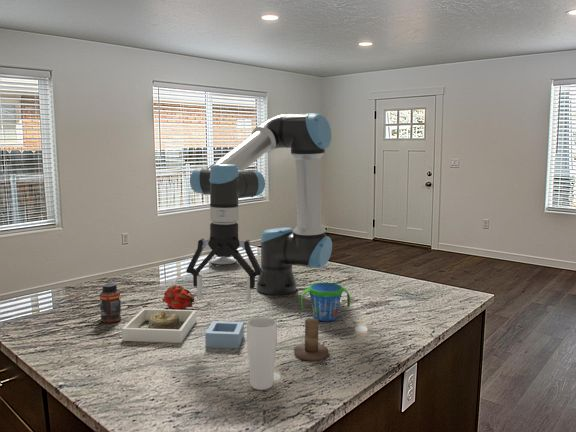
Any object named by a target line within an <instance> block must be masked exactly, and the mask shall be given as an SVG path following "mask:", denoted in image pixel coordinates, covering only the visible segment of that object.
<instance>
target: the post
mask: <svg viewBox="0 0 576 432" xmlns="http://www.w3.org/2000/svg"><path fill="white" fill-rule="evenodd" d="M304 321H305V322H304V343H300V344H298V345H296V346H295V347H294V351H293V354H294V356H295V357H296V358H297V359H300V360H302V361H307V362H319V361H322V360H325V359H327V358H328V357H329V348H328V347H327V346H326V345H323V344H320V343H319V327H320V326H319V325H320V323H319V322H320V320H317V319H316V318H311V317H310V318H307V319H305V320H304Z"/></svg>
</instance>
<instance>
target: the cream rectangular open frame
mask: <svg viewBox="0 0 576 432" xmlns="http://www.w3.org/2000/svg"><path fill="white" fill-rule="evenodd" d="M162 311H164V312H165V314H166V315H168V316H171V315H172V314H177V315H178V316H179V320H180V323H183V324H181V327H180V328H179V329H178V330H176V329H148V327H147V328H145V327H143V328H142V327H140V326H141V325H142V324H144V323H145V322H146V321H148V320H149V318H150V316H151V315H153V314H157V313H160V314H162V313H163V312H162ZM161 312H162V313H161ZM148 322H149V321H148ZM196 323H197V309H195V310H194V309H193V310H192V309H183V310H176V309H171V310H170V309H169V308H168V309H164V308H161V309H160V308H142V309H141V310H140V311H139V312H138V313H137V314H136V315H134V316H133V318H131V319H130V321H129V322H127V323H126V324H125V325H124V326H123V327H122V328H121V335H122V337H121V341H123V342H141V343H142V342H144V343H145V342H147V343H174V344H175V343H176V344H182V343H183V342H184V340H185V338H186V337H187V336H188V335H189V333H190V331H191V330H192V328H193V327H194V326H195V324H196Z"/></svg>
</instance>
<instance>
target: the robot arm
mask: <svg viewBox="0 0 576 432" xmlns="http://www.w3.org/2000/svg"><path fill="white" fill-rule="evenodd" d="M330 125H331V124H330V123H329V120H328V119H327V117H326V116H324V115H323V114H321V113H314V112H313V113H312V112H308V113H307V112H305V113H282V114H279V115H278V114H277V115H276V116H273V117H271V118H269V119H267V120H265V121H263V122H262V123H260V124H259V125H257V126H255V128H254V129H253V130H252V132H251V135H248V137H247V138H245V139H244V140H243V141H241V142H240V143H239V144H237V145H236V146H234V147H233V148H232V149H230V150H229V151H228V152H227V153H226V154H225V155H223V156H222V157H220V158H219V159H218V160H216V161H215V162H214V163H212V164H211V165H210V166H209V167H207V168H204V167H203V168H197V169H194V170H193V171H192V172H191V174H190V176H189V177H190V178H189V185H190V187H191V190H192V191H193V192H194V193H196V194H202V195H205V196H207V195H209V196H210V197H209V199H210V201H209V202H210V203H209V221H210V222H211V223H210V224H209V232H210V240H208V239H204V238H200V239H199V240H197V249H196V251H195V252H194V254H193V256H192V258H191V260H190V262H189V264H188V267H187V268H186V270H185V271H186V273H187V274H191V275H192V278H193V279H192V280H193V283H192V285H193V287H194V288H195V287H196V300H201V299H202V297H203V273H201V271H202V270H203V269H204V267H206V265H207V264H208V263H209V262H210V261H211V260H212V259H213V257H214V256H216V257H217V258H220V257H222V256H224V257H227V258H231V257H232V258H233V259H235V260H237V261H236V263H238V264H239V265H240V266H241V268H242V269H243V270H244V271H245V272H246V273H247V275H248V276H247V278H246V301H247V302H251V299H252V289H253V290H254V289H255V288H256V289H255V290H256V291H257V292H258V293H262V294H265V295H271V296H278V295H280V296H281V295H289V294H292V293H294V292H296V291H297V286H298V285H297V280H296V278H295V274H294V272H293V266H299V267H304V268H309V269H322V268H323V267H326V265H327V263H328V262H329V259H330V257H331V255H332V251H333V242H332V238H331V237H329V236H327V235H326V228H325V227H324V226H322V189H321V188H322V186H321V185H322V184H321V183H322V181H321V180H322V179H321V178H322V177H321V172H322V171H321V170H322V169H321V168H322V167H321V158H322V157H323V155H325V154H326V149H328V148H329V147H330V145H331V141H332V130H331V129H332V128H331V126H330ZM283 148H286V149H288V148H289V149H290V155H292V156H293V158H294V159H295V189H296V192H295V193H296V194H295V195H296V199H295V200H296V226H295V228H292V227H277V228H276V227H275V228H270V229H265V230H264V231H263V232H262V233H261V237H260V239H261V240H260V252H261V253H260V263H261V264H259V262H258V260H257V258H256V255H255V254H254V252H253V250H252V248H251V241H250V239H246V240H241V241H240V240H239V239H240V238H239V239H238V237H239V224H238V221H239V199H244V198H254V197H256V196H260V195H261V194H262V193H264V190H265V188H266V179H265V177H264V176H263V174H262V172H260V171H258V170H252V169H250V170H249V169H248V168H249V167H250V166H251V165H252V164H254V163H255V162H256V161H257V160H258V159H259V158H261V157H262V156H263V155H265V154H267V153H271V152H273V151H274V150H276V149H283ZM247 169H248V170H247ZM207 246H208V247H209V248H210V250H211V251H210V252H209V253H208V254H207V256H206V257H205V258H204V259H203V260H202V261H201V263H200V264H199V265H198V266H197V267H196V268H195V266H196V264H197V262H198V261H199V259H200V257H201V254H202V252H203V251H204V248H206V247H207ZM240 246H241V248H242V249H243V250H245V253H246V256H247V257H248V259H249V262H250V264H249V263H248V262H247V260H246V259H245V258H244V257H243V256H242V255H241V253H240V251H239V250H238V248H240ZM257 276H258V277H257ZM256 277H257V281H256ZM255 286H256V287H255Z"/></svg>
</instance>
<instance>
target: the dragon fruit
mask: <svg viewBox="0 0 576 432" xmlns="http://www.w3.org/2000/svg"><path fill="white" fill-rule="evenodd" d="M163 295H164V296H163V298H162V300H161V301H162V302H163V303H166V304H167V305H166V306H167V307H168V309H170V310H184V309H185V308H192V307H193V305H194V304H195V303H196V302H195V296H194V295H193V294H192V292H191V291H190V290H189V289H186V288H184V287H183V286H181V285H176V284H175V285H172V286H169V287H168V288H167V290H165V292H164V294H163Z"/></svg>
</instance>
